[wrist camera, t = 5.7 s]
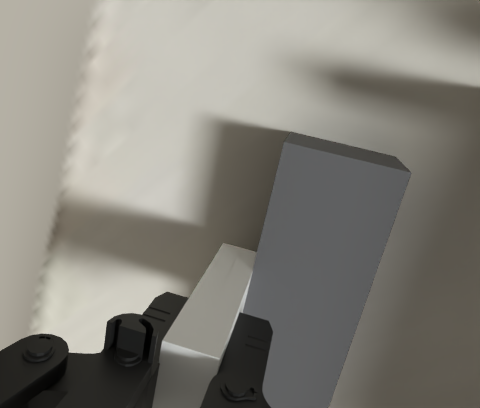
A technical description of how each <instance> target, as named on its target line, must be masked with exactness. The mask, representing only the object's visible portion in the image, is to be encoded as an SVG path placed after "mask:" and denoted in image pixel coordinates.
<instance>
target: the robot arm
mask: <svg viewBox="0 0 480 408" xmlns="http://www.w3.org/2000/svg"><path fill="white" fill-rule="evenodd" d="M256 254H257V252H255V251H251V250H248V249H244V248H240V247H237V246H233V245H230V244H226V243H223V244H222V246H221V247H220V249H219V251H218V252H217V254H216V255H215V257H214V259H213V260H212V262H211V263H210V265H209V267H208V268H207V270H206V271H205V273H204V275H203V276H202V278H201V279H200V281H199V283H198V284H197V286H196V287H195V289H194V291H193V292H192V294H191V295H190V297H189V298H187V297H183V296H180V295H176V294H173V293H170V292H166V293H164V294H162V295H160V296H158V297H156V298H155V299H154V300H153V301H152V303H151V304H150V305H149V307H148V308H147V309H146V310H145V312H144V313H143V315H140V314H134V313H130V314H121V315H118V316H115V317H113V318H111V319H110V320H109V321H107V327H106V335H105V343H104V349H103V350H102V352H101V353H96V354H82V353H68V352H69V349H68V345H67V343H66V342H65V341H64V340H63V339H62V338H61V337H58V336H55V335H52V334H37V335H31V336H28V337H26V338H23V339H21V340H19V341H17V342H15V343H14V344H12V345H10V346H8V347H6V348H5V349H3V350H1V351H0V408H271V407H270V406H269V404H268V403H267V401H266V400H265V398H264V395H263V391H262V390H263V381H264V376H265V371H266V366H267V361H268V356H269V351H270V346H271V341H272V336H273V330H272V327H271V325H270V322H269V321H268V320H265V319H261V318H258V317H254V316H251V315H248V314H244V313H243V309H244V305H245V301H246V296H247V292H248V288H249V284H250V280H251V276H252V272H253V266H254V262H255V258H256Z"/></svg>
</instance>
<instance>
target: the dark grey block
mask: <svg viewBox="0 0 480 408" xmlns="http://www.w3.org/2000/svg"><path fill="white" fill-rule="evenodd" d="M410 175H411V172H410V171H409V170H408V169H407V168H406V167H405V166H404V165H403V164H402V163H401V162H400V161H399V160H398V159H397V158H396V157H394V156H390V155H386V154H382V153H378V152H373V151H369V150H365V149H361V148H357V147H352V146H348V145H344V144H340V143H336V142H331V141H327V140H323V139H319V138H315V137H310V136H306V135H302V134H298V133H294V132H290V134H289V135H288V137H287V138H286V140H285V141H284V144H283V148H282V152H281V156H280V160H279V164H278V168H277V172H276V176H275V181H274V185H273V189H272V193H271V197H270V201H269V205H268V209H267V213H266V217H265V221H264V225H263V229H262V234H261V238H260V242H259V246H258V250H257V254H256V258H255V262H254V266H253V272H252V276H251V280H250V284H249V288H248V292H247V296H246V301H245V305H244V309H243V313H244V314H248V315H251V316H254V317H258V318H261V319H265V320H268V321H269V322H270V325H271V327H272V330H273V336H272V341H271V346H270V351H269V356H268V361H267V366H266V371H265V376H264V381H263V390H262V391H263V395H264V398H265V400H266V401H267V403H268V404H269V406H270V407H271V408H328V407H329V404H330V402H331V399H332V396H333V393H334V390H335V387H336V385H337V382H338V379H339V376H340V373H341V370H342V368H343V365H344V362H345V359H346V356H347V353H348V351H349V348H350V345H351V342H352V339H353V336H354V334H355V331H356V328H357V325H358V322H359V320H360V317H361V314H362V311H363V308H364V305H365V303H366V300H367V297H368V294H369V291H370V288H371V286H372V283H373V280H374V277H375V274H376V271H377V269H378V266H379V263H380V260H381V257H382V254H383V252H384V249H385V246H386V243H387V240H388V237H389V235H390V232H391V229H392V226H393V223H394V221H395V218H396V215H397V212H398V209H399V206H400V204H401V201H402V198H403V195H404V192H405V189H406V187H407V184H408V181H409V178H410Z"/></svg>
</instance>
